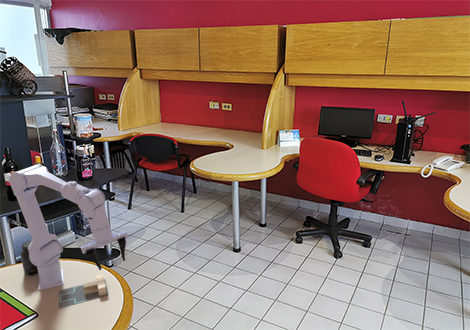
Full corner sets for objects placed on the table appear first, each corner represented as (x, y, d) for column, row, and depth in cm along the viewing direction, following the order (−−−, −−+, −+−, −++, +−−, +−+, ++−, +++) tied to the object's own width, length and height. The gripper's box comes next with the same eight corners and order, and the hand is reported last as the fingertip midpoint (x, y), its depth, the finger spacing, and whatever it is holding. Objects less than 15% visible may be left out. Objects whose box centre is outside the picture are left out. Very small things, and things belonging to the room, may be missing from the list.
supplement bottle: (26, 267, 136) (20, 240, 132) (45, 264, 138) (40, 237, 135) (22, 277, 130) (16, 249, 126) (43, 274, 132) (37, 246, 128)
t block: (83, 286, 126) (82, 279, 125) (104, 280, 129) (103, 274, 128) (85, 299, 119) (84, 292, 118) (106, 294, 122) (105, 286, 121)
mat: (59, 291, 123) (59, 290, 123) (105, 279, 130) (105, 279, 130) (59, 309, 115) (59, 308, 115) (108, 296, 121) (108, 295, 121)
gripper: (76, 238, 106) (89, 277, 109) (124, 222, 111) (135, 260, 114) (76, 231, 112) (89, 268, 115) (121, 216, 117) (132, 252, 121)
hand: (112, 264), depth 115 cm, fingers open, 7 cm apart
